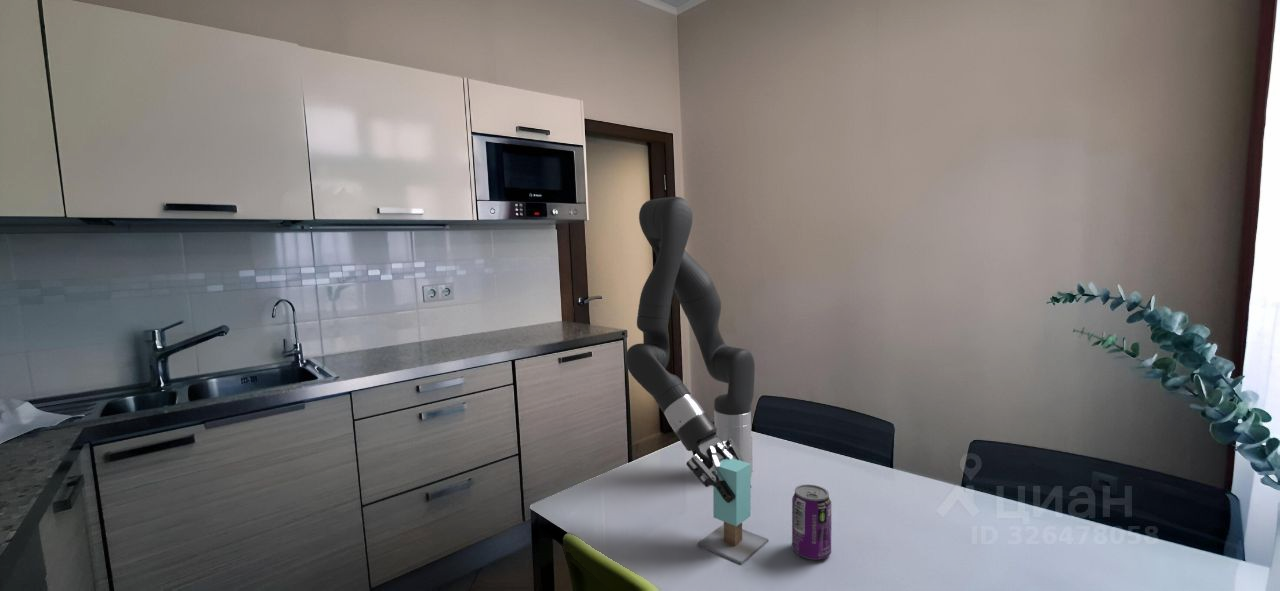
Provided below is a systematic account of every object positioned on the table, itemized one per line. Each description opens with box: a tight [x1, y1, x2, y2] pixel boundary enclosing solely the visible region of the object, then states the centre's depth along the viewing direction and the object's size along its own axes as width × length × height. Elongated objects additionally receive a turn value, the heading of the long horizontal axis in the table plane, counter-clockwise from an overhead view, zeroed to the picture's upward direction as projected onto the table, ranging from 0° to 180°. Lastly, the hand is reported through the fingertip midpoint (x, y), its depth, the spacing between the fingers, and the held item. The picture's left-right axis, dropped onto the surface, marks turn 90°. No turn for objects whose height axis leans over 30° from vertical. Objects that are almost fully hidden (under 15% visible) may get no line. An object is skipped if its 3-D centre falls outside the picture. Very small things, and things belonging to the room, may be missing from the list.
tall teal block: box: [712, 458, 752, 526], centre depth 103 cm, size 5×5×11 cm
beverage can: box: [791, 484, 832, 561], centre depth 100 cm, size 7×7×12 cm
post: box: [697, 521, 769, 565], centre depth 103 cm, size 10×10×10 cm
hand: (740, 494), depth 102 cm, fingers closed on tall teal block, 5 cm apart
